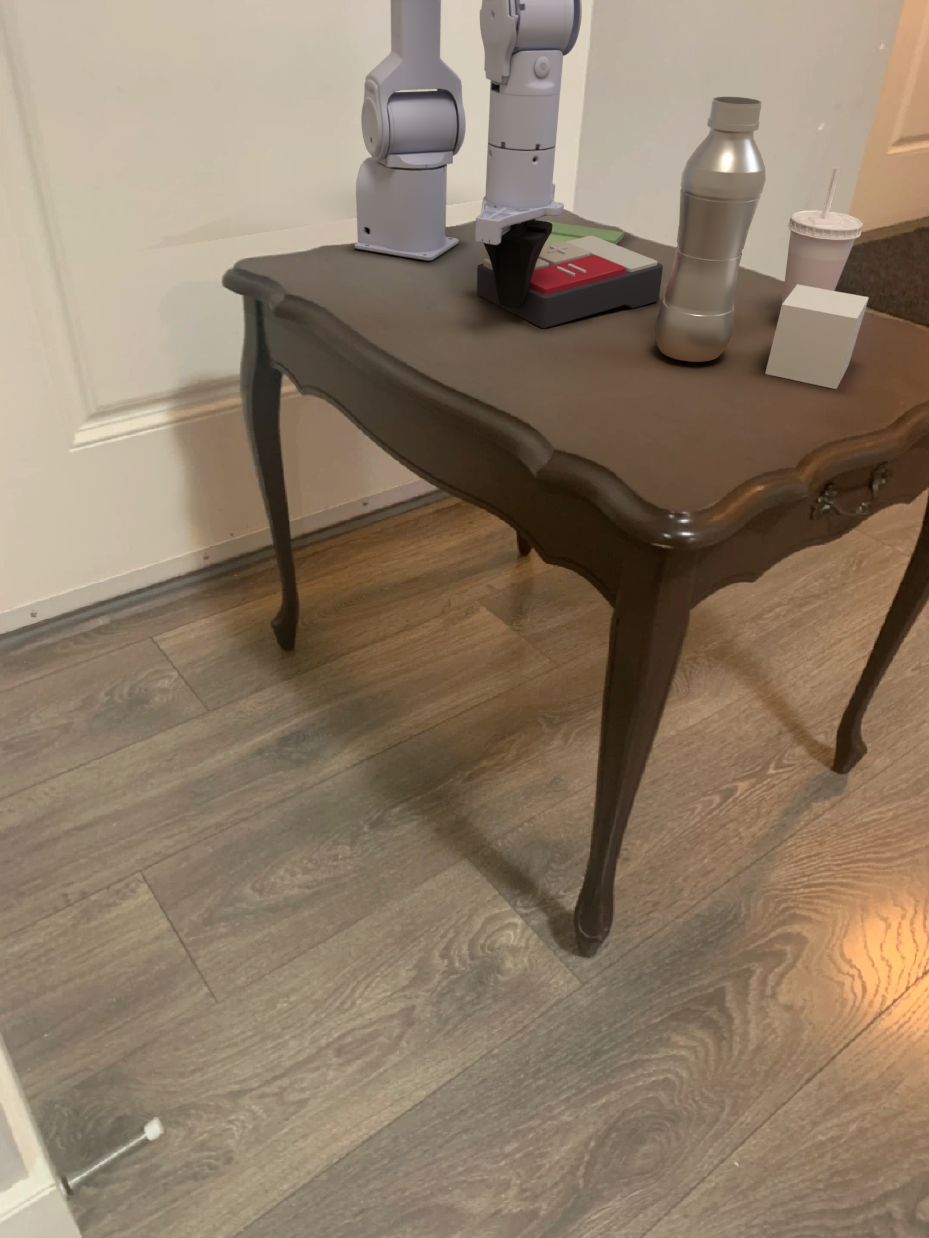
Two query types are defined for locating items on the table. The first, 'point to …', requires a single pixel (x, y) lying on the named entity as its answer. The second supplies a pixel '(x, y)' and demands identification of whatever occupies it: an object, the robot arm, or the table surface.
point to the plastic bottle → (712, 233)
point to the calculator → (580, 281)
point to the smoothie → (819, 245)
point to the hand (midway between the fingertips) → (511, 305)
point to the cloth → (580, 233)
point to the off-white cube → (816, 335)
